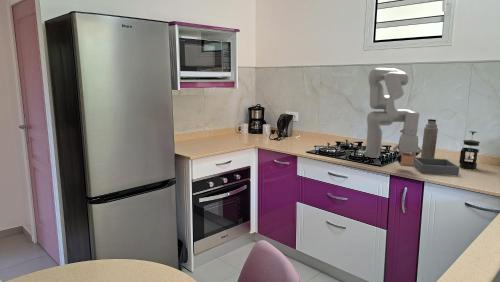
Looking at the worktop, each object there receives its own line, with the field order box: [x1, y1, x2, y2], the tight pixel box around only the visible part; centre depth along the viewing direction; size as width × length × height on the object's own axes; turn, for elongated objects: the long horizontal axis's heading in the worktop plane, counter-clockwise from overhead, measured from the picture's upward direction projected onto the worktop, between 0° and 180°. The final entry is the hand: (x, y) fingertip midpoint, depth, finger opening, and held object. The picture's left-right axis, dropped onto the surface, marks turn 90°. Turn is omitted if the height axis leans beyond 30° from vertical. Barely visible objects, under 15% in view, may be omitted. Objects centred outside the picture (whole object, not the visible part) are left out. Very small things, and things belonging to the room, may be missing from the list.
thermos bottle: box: [420, 118, 439, 159], centre depth 233 cm, size 8×8×28 cm
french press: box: [458, 130, 481, 171], centre depth 219 cm, size 12×9×23 cm
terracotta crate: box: [397, 152, 415, 168], centre depth 208 cm, size 7×9×6 cm
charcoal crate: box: [413, 156, 461, 177], centre depth 213 cm, size 20×20×5 cm
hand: (405, 162), depth 208 cm, fingers closed on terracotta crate, 6 cm apart
